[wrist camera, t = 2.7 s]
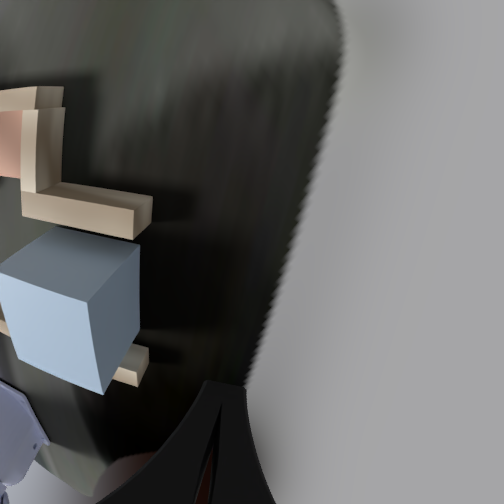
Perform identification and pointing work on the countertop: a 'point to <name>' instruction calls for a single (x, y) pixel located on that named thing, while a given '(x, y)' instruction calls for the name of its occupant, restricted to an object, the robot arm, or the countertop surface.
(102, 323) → the block
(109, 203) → the beige flat frame
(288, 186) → the countertop surface
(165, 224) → the countertop surface
